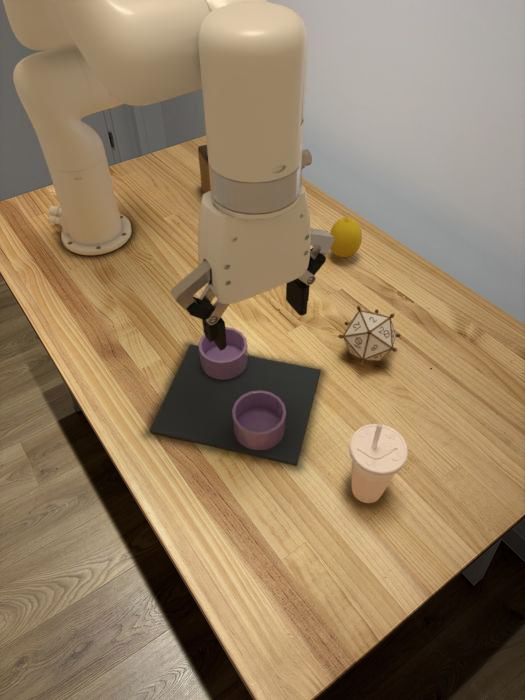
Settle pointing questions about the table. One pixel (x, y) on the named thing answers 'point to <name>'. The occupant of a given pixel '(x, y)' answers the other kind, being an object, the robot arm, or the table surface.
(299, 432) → the mat
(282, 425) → the dish
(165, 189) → the table surface
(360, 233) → the lemon
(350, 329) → the game die
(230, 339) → the dish
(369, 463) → the smoothie
